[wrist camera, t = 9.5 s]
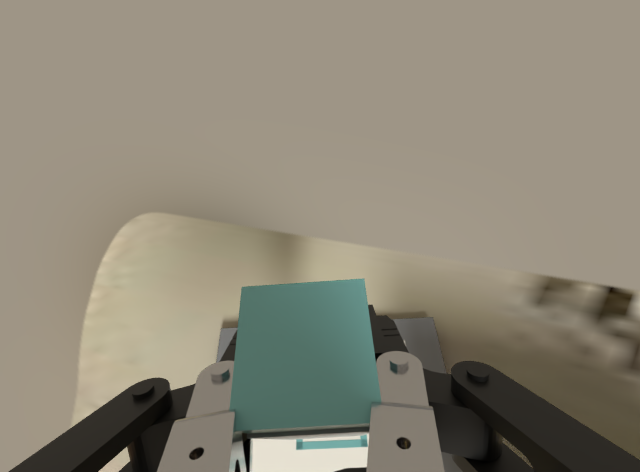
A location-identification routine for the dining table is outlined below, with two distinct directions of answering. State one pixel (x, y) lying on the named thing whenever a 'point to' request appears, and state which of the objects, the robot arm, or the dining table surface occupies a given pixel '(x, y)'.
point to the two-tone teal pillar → (304, 361)
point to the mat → (348, 452)
